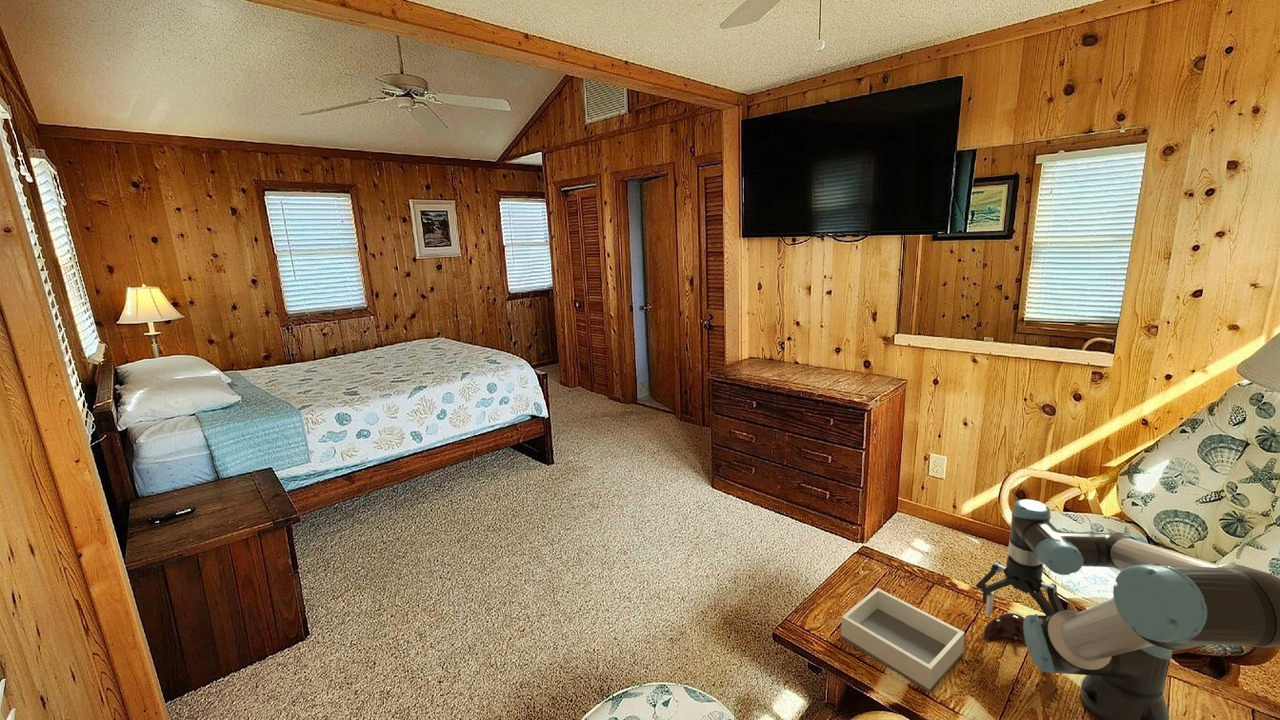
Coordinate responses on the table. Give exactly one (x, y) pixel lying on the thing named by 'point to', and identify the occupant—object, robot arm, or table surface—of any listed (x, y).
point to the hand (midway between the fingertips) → (1016, 627)
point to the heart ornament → (1005, 627)
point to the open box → (903, 638)
